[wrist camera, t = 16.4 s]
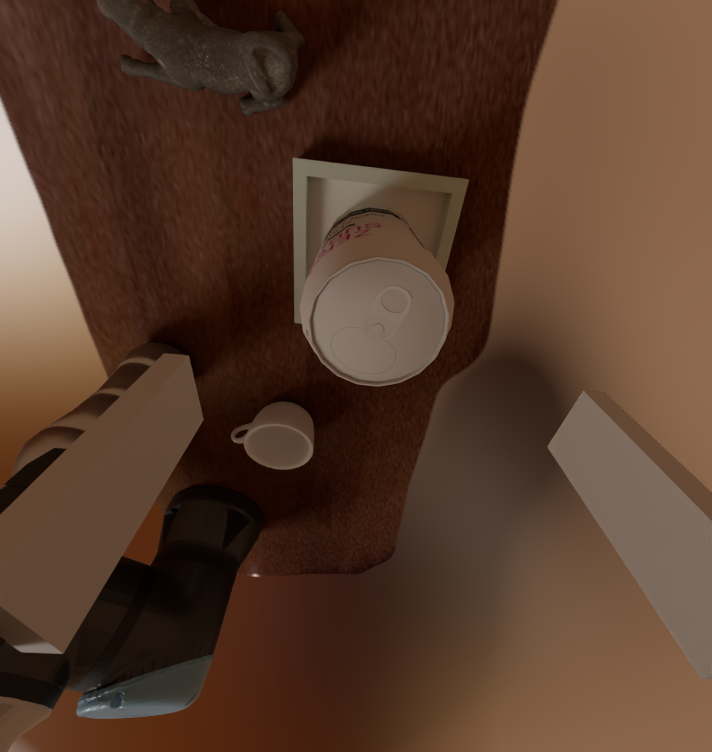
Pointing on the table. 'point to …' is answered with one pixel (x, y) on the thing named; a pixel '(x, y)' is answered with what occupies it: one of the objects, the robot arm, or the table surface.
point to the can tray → (369, 186)
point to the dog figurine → (209, 51)
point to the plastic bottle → (92, 404)
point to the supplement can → (375, 299)
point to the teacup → (279, 436)
